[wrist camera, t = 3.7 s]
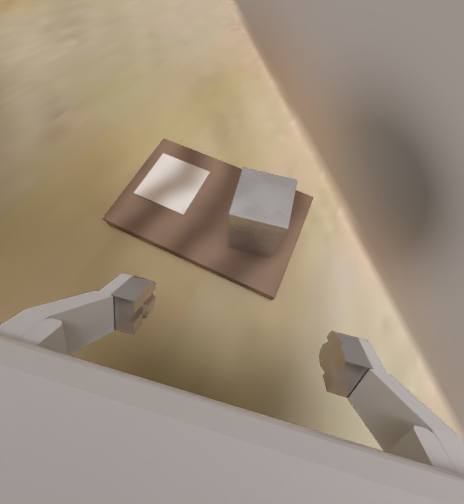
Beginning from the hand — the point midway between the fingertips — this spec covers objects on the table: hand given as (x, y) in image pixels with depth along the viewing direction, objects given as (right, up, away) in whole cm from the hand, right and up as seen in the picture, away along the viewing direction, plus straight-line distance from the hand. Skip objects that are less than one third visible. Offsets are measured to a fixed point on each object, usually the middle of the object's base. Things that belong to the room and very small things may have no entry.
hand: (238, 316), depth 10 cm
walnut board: (-3, +8, +18) cm, 20 cm away
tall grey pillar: (+2, +5, +16) cm, 17 cm away
